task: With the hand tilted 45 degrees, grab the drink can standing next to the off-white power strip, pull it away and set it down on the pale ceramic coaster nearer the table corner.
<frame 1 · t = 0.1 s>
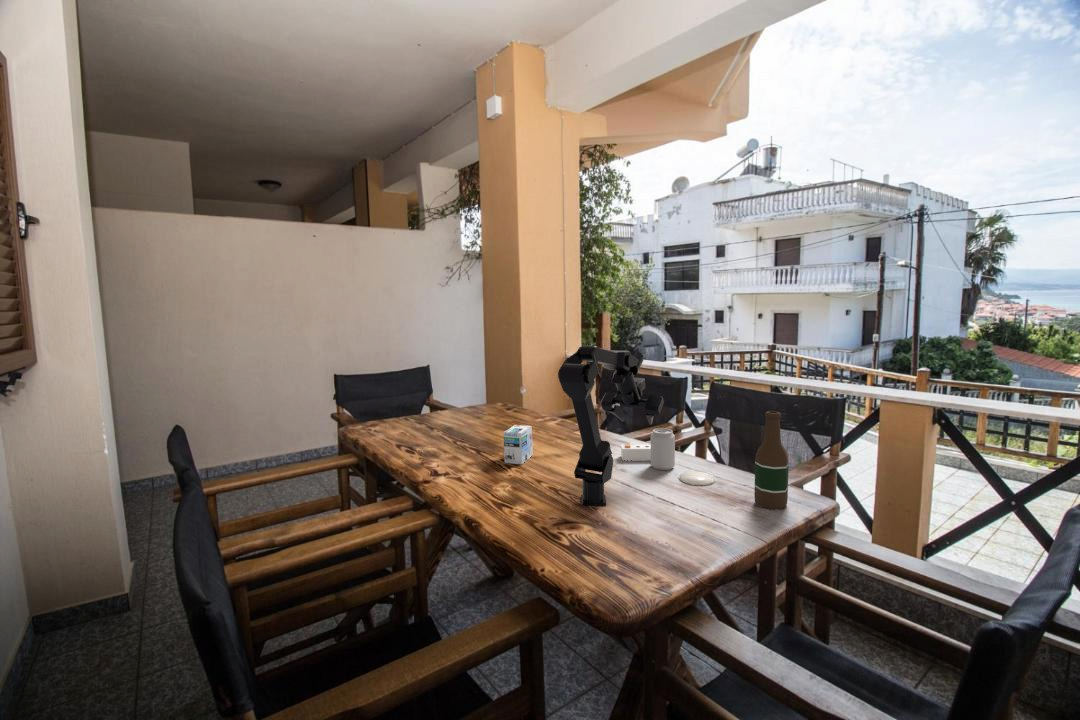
hand: (637, 422, 153), 15 cm above the table, tool tilted 35°, fingers open, 9 cm apart
can: (662, 467, 154), on the table
power strip: (642, 458, 164), on the table
coaster: (697, 479, 143), on the table
light bulb box: (519, 459, 167), on the table
beer bottle: (770, 504, 124), on the table
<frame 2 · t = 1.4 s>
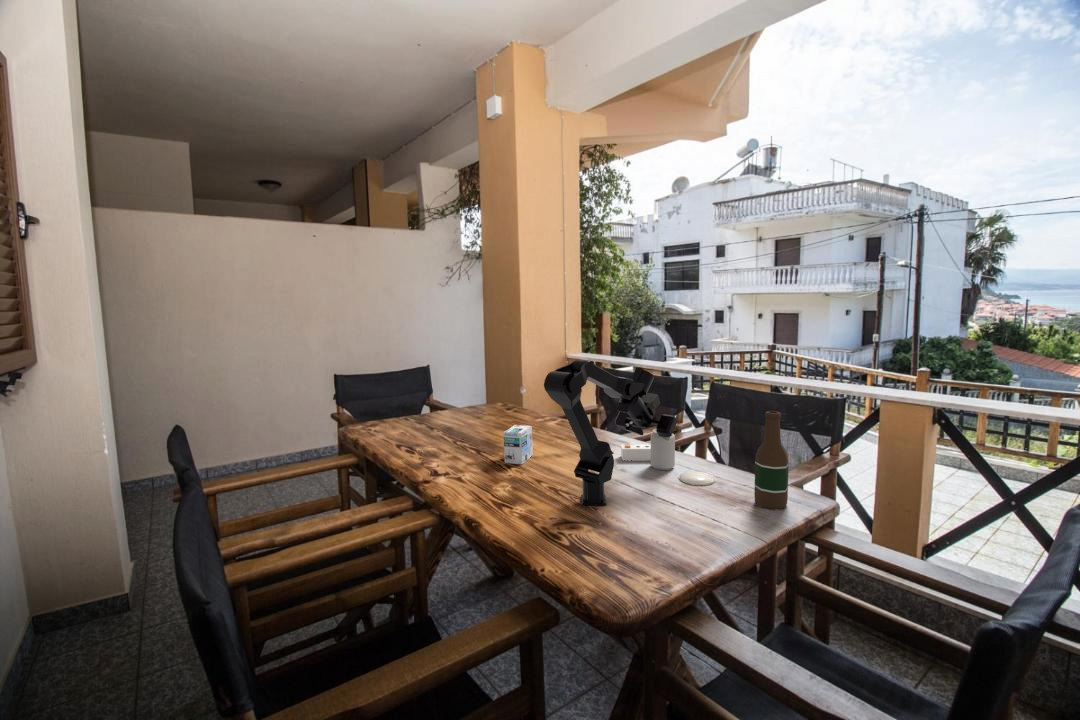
hand: (655, 436, 150), 11 cm above the table, tool tilted 45°, fingers open, 9 cm apart
nothing on the table moved.
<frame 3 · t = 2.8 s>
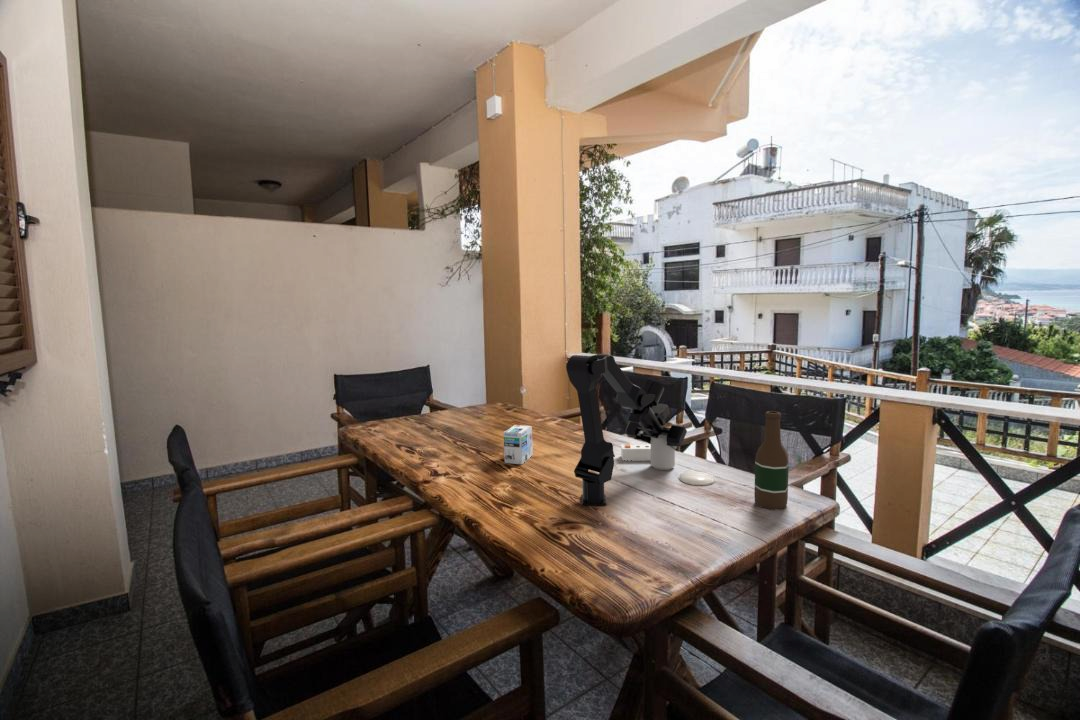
hand: (664, 445, 155), 7 cm above the table, tool tilted 45°, fingers closed on can, 7 cm apart
can: (662, 467, 154), on the table, touching gripper
everything else where it was.
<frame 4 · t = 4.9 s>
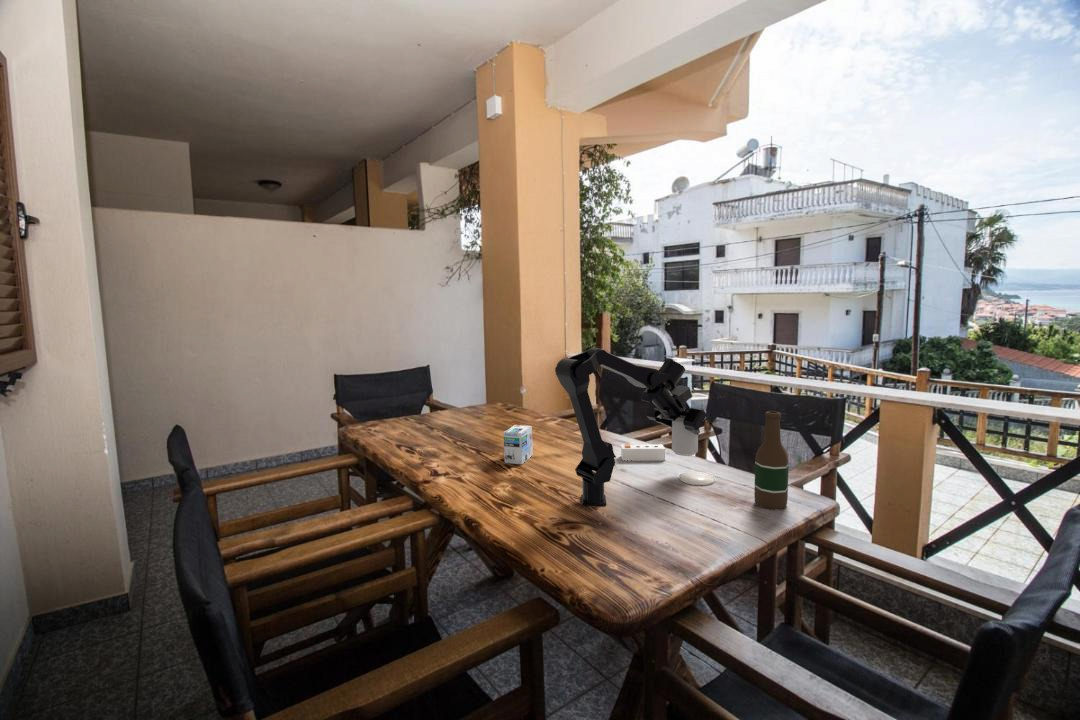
hand: (688, 430, 147), 13 cm above the table, tool tilted 45°, fingers closed on can, 7 cm apart
can: (684, 453, 147), point 6 cm above the table, touching gripper
everything else where it was.
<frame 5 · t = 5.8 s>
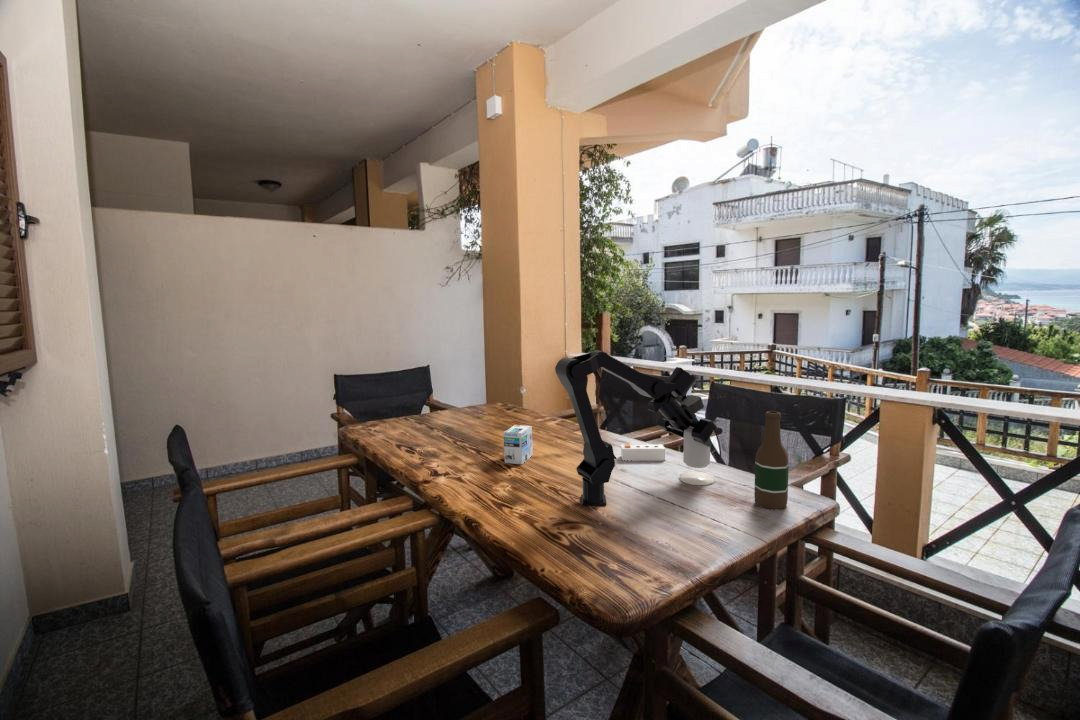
hand: (700, 442, 142), 11 cm above the table, tool tilted 45°, fingers closed on can, 7 cm apart
can: (696, 465, 142), point 4 cm above the table, touching gripper
everything else where it was.
when the fingers open (8 cm above the table, at t = 6.8 s): can stays where it is, resting on coaster.
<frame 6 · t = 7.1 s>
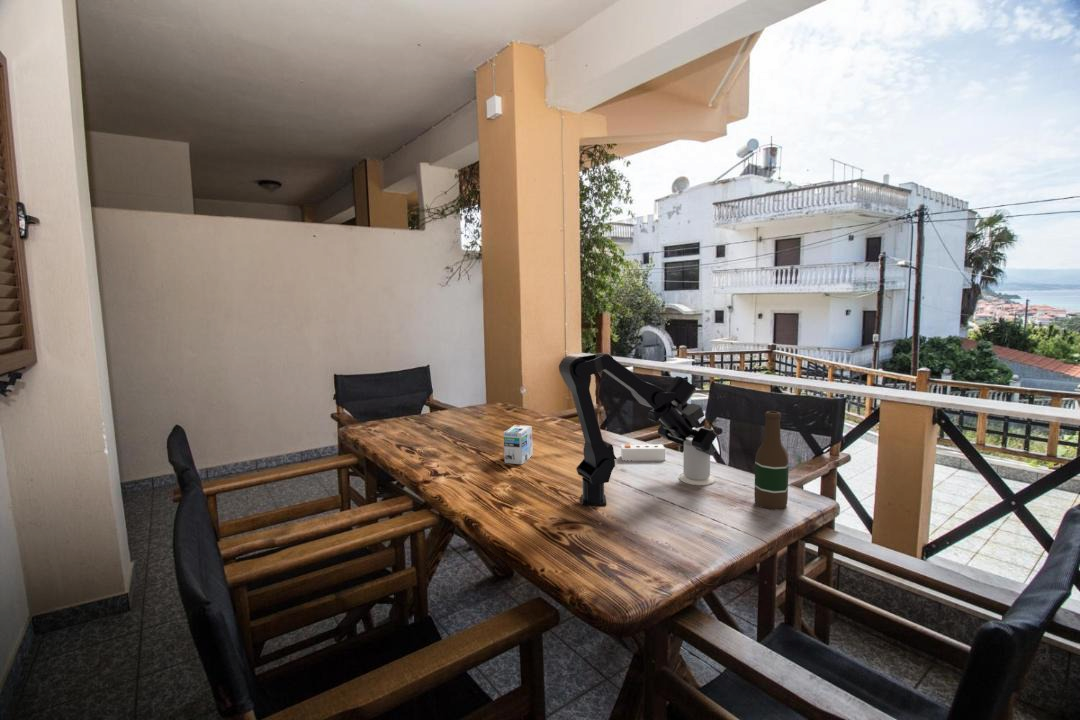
hand: (700, 450, 143), 9 cm above the table, tool tilted 45°, fingers open, 9 cm apart
can: (696, 477, 143), resting on coaster
everything else where it was.
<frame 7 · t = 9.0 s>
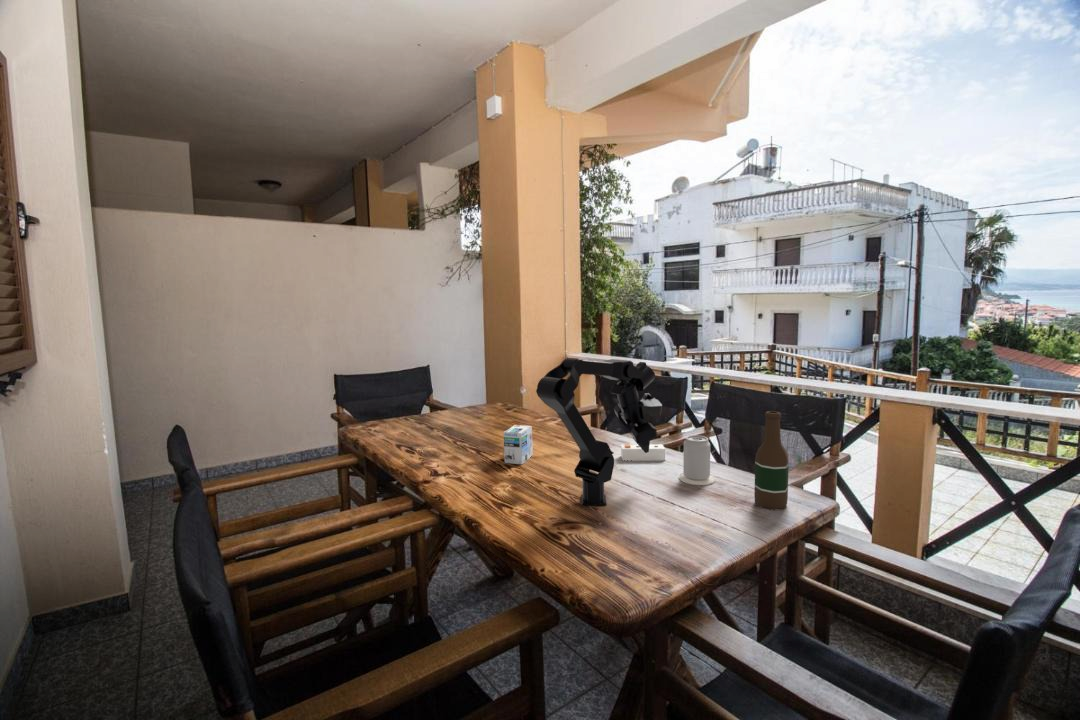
hand: (640, 444, 143), 11 cm above the table, tool tilted 25°, fingers open, 9 cm apart
nothing on the table moved.
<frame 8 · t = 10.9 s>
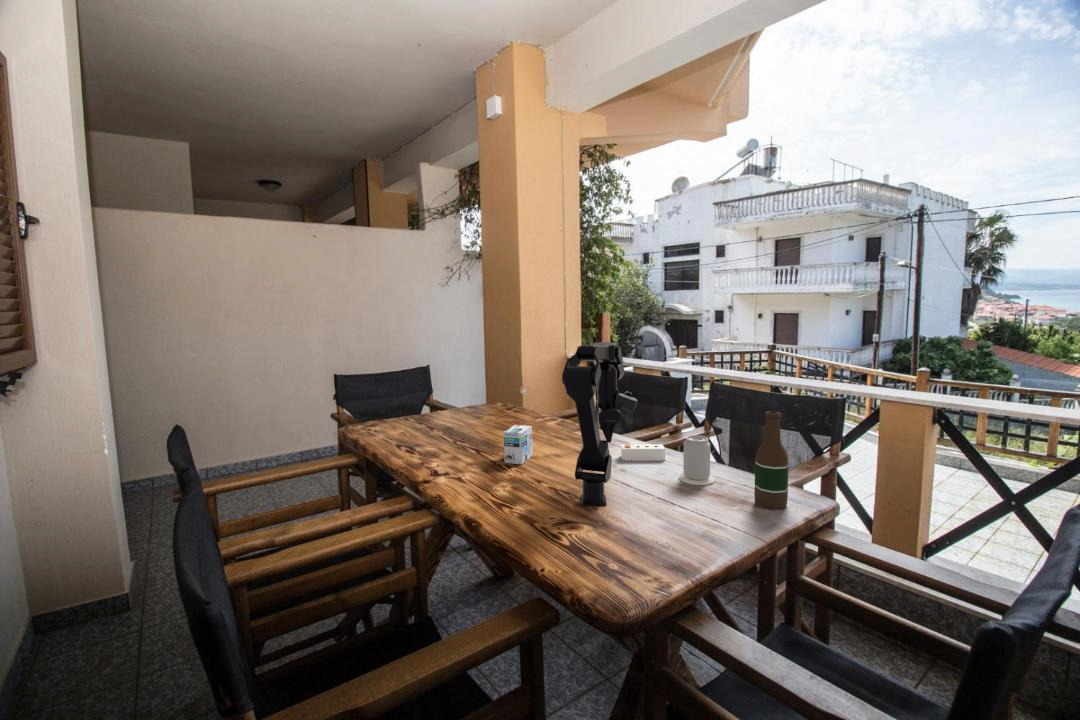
hand: (607, 437, 142), 13 cm above the table, tool pointing down, fingers open, 9 cm apart
nothing on the table moved.
at the end: can 0.2 cm from the coaster (horizontally); can tilted 0°; the gripper is holding nothing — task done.
